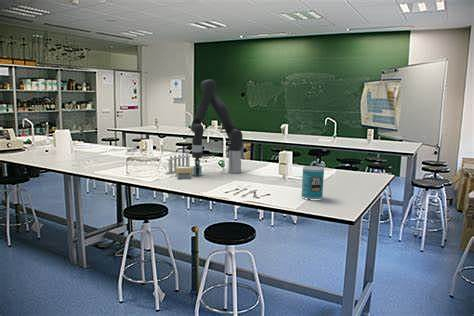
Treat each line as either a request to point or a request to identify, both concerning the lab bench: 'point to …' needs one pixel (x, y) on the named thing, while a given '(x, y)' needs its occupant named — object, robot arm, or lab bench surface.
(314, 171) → the food can
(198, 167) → the stub
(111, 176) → the lab bench surface
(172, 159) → the test tube rack
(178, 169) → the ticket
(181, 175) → the tray
